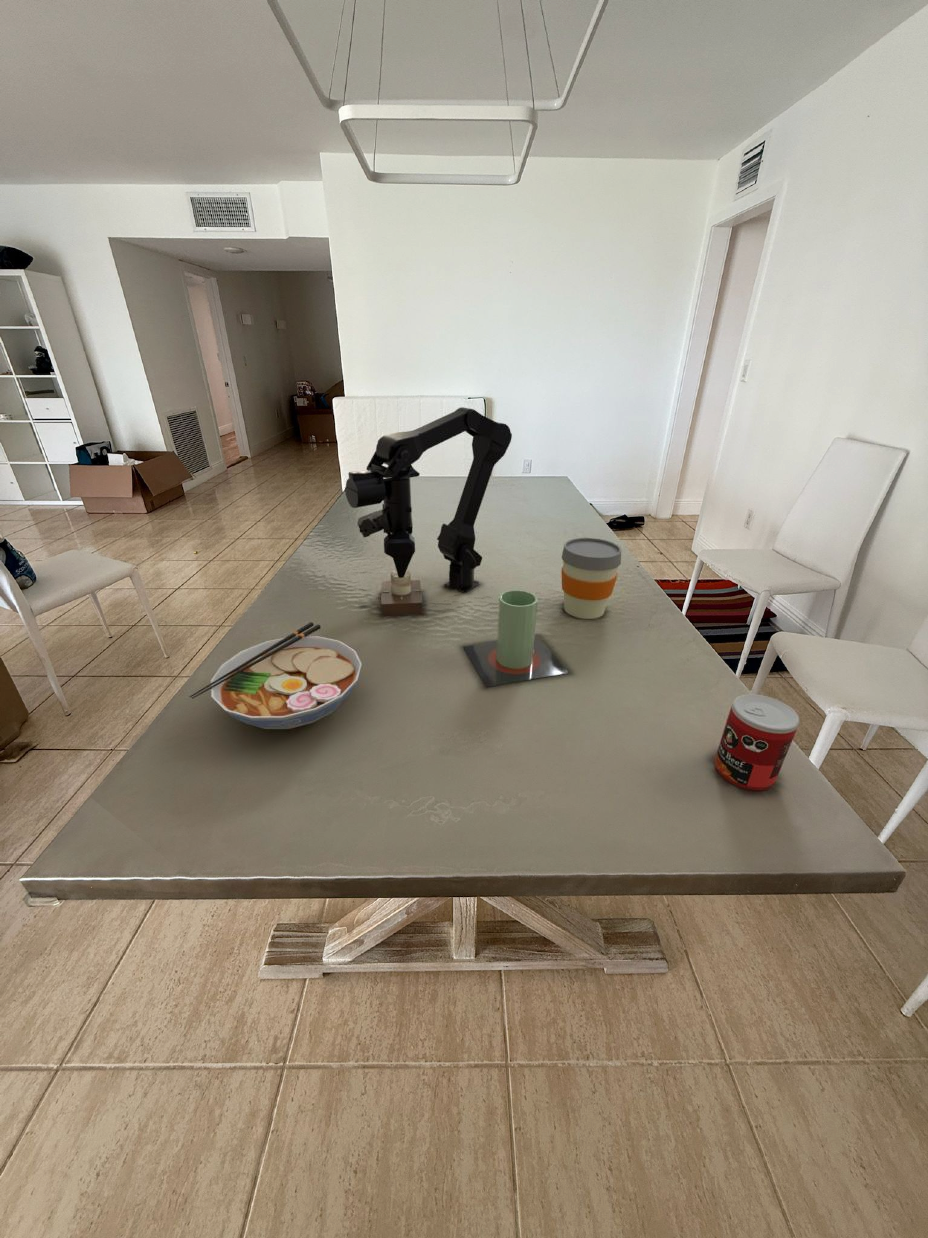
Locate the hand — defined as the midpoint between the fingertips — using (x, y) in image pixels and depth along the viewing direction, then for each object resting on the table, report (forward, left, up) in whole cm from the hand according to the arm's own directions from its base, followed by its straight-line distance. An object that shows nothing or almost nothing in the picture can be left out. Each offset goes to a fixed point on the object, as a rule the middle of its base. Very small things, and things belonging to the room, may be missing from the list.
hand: (400, 569), depth 116 cm
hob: (+7, +33, -9) cm, 34 cm away
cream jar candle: (0, 0, -6) cm, 6 cm away
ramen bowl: (+40, +10, -9) cm, 42 cm away
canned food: (+14, +74, -9) cm, 76 cm away
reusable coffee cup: (-21, +36, -9) cm, 42 cm away
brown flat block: (0, 0, -9) cm, 9 cm away
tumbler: (+7, +33, -8) cm, 34 cm away
